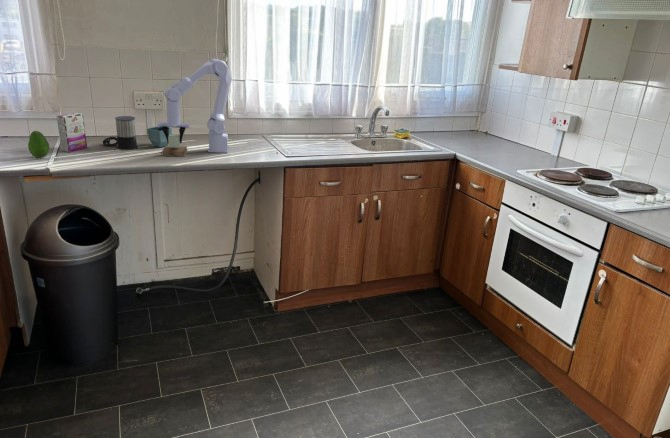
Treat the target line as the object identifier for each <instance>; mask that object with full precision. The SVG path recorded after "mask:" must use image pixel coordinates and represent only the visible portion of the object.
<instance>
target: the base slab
mask: <svg viewBox="0 0 670 438" xmlns="http://www.w3.org/2000/svg"><path fill="white" fill-rule="evenodd" d="M187 152H188V147H187V146H183V145H181V146H180V148H178V147H169V145H168V146H164V147H163V149H162V157H181V158H182V157H186V155H187Z"/></svg>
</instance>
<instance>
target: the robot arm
mask: <svg viewBox="0 0 670 438" xmlns="http://www.w3.org/2000/svg"><path fill="white" fill-rule="evenodd" d="M206 75H215V76H216V78H217V79H218V81H219V83H218V85H217V90H216V91H217V92H216V97H215V101H214V106H213V111H212V113H211V115H210V118H209V119H208V120H207V122H206V126H207V128H208V149H207V153H222V154H225V153H228V151H229V140H228V139H229V135H228V133H224V132H225V131H226V124H225V122H226V119H225V111H226V106H227V101H228V96H229V92H230V87H231V82H232V77H231V74H230V71H229V66H228V64H227V63H226V61H224V60H221V59H217V58H210V59H209V61H206V62H205V63H204V64H203V65H202V66H200V67H199V68H198V69H197V70H195V71H194V72H193V73H192V74H190V75H189V76H188V77H187V76H183V77H180V78H179V80H178V81H177V82H175V83H174V84H171V86H170V87H167V88H166V89H165V91H164V93H163V94H164V97H165V99H166V121H165V122H157V126H158V127H162V130H163V132H164V134H165V136H166V139H167V143H168V136H169V128H173V129H174V128H175V129H177V128H179V129H178V131H179V132H178V133H179V135H180V143H181V144H182V142H183V136H184V134H185V131H186V129H190V128H191V124H190V123H185V122H181V116H180V113H181V112H180V111H181V110H180V99H181V97H182V96H183V95H184V94H186V93H187V92H188V91H190V90H191V89H193V87H194V86H193V85H194V84H195V83H196V82H197V81H199V80H201V79H202V78H203V77H205V76H206Z"/></svg>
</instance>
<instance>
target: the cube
mask: <svg viewBox="0 0 670 438" xmlns="http://www.w3.org/2000/svg"><path fill="white" fill-rule="evenodd" d="M168 143H169V144H168V146H169V147H178V148H180V146H182V143H180V134H172V135H169V136H168Z"/></svg>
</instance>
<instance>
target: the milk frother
mask: <svg viewBox="0 0 670 438" xmlns="http://www.w3.org/2000/svg"><path fill="white" fill-rule="evenodd" d="M114 120H115V127H116V136H109V137H106V138H104V139H103V140H102V144H103V146H106V147H114V146H117V149H118V150H122V151H130V150H132V151H133V150H136V149H138V143H137V134H136V133H137V131H136V123H135V122H136V117H134V116H131V115H119V116H115V117H114ZM111 140H114V141H116V142H114V143H110V142H111Z"/></svg>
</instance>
